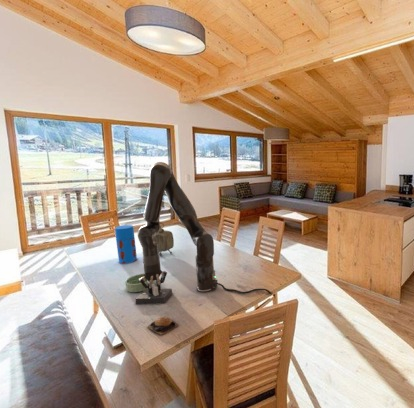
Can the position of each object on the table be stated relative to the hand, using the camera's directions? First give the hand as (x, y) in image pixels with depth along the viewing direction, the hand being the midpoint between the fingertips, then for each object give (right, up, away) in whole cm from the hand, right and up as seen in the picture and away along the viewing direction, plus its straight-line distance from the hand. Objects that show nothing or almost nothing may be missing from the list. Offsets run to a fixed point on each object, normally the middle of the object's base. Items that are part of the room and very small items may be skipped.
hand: (154, 292), depth 147 cm
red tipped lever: (0, 0, -1) cm, 1 cm away
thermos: (-47, +6, +51) cm, 70 cm away
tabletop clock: (-29, +8, +63) cm, 70 cm away
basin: (-15, -1, +12) cm, 19 cm away
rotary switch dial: (0, -3, 0) cm, 3 cm away
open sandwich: (+17, -8, -24) cm, 30 cm away
